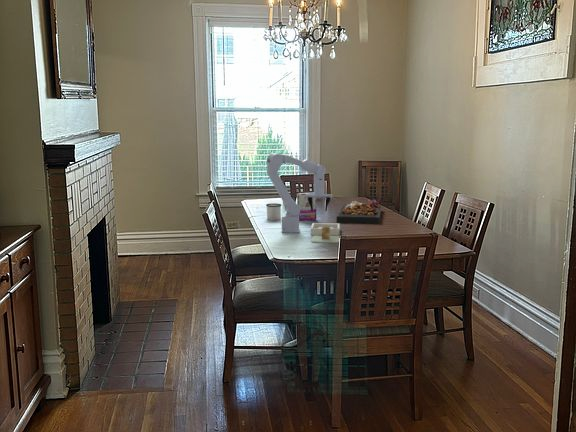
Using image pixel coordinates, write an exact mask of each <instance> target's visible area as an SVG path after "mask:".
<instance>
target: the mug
mask: <svg viewBox="0 0 576 432" xmlns="http://www.w3.org/2000/svg"><path fill="white" fill-rule="evenodd" d="M265 206H266V220H269V221H279V220H282V214H281V212H282V211H281V210H282V209H281V207H282V206H283V205H282V203H276V202H275V203H267V204H265Z"/></svg>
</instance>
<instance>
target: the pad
mask: <svg viewBox="0 0 576 432" xmlns="http://www.w3.org/2000/svg"><path fill="white" fill-rule="evenodd" d="M339 237H340V238H341V236H340V235H330V239H322V235H312V238H311V239H310V240H311V241H310V242H311V243H322V244H323V243H327V244H329V243H331V244H334V243H335V244H339V243H340V241H339Z"/></svg>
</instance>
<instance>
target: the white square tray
mask: <svg viewBox="0 0 576 432" xmlns="http://www.w3.org/2000/svg"><path fill="white" fill-rule="evenodd" d="M322 226H330V236H340V231H341V230H340V229H341V227H340V226H341V223H334V222H333V223H329V222H328V223H325V222H324V223H323V222H312V224H311V226H310V235H311V236H322Z"/></svg>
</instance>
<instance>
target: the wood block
mask: <svg viewBox="0 0 576 432" xmlns="http://www.w3.org/2000/svg"><path fill="white" fill-rule="evenodd" d="M321 236H322V239H330V236H331V235H330V226H322V235H321Z"/></svg>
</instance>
